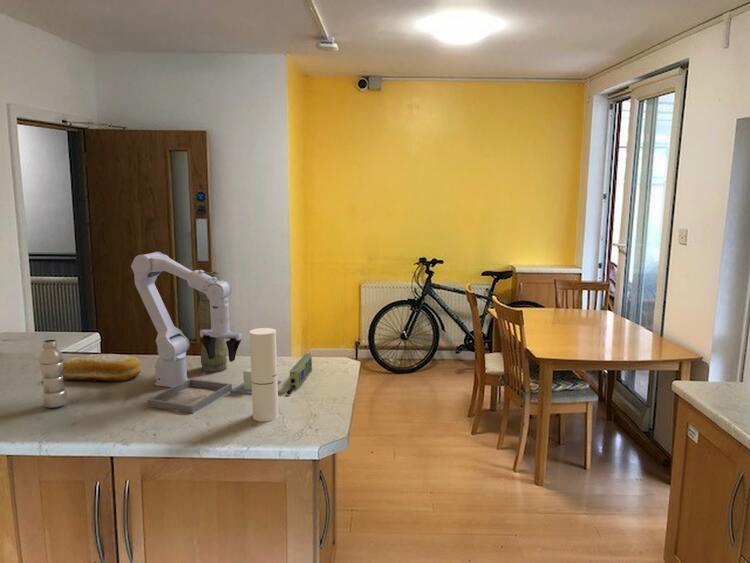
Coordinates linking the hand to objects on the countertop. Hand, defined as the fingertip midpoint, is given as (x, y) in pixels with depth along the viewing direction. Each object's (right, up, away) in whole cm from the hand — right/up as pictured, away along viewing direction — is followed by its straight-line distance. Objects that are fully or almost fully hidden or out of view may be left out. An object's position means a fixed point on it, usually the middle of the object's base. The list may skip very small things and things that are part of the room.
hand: (221, 359), depth 182 cm
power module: (+11, -9, +2) cm, 14 cm away
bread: (-44, -8, +12) cm, 47 cm away
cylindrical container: (+18, -13, -21) cm, 31 cm away
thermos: (-8, -6, +20) cm, 23 cm away
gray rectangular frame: (-7, -11, -7) cm, 15 cm away
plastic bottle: (-46, -12, -14) cm, 49 cm away
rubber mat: (+11, -9, +2) cm, 14 cm away
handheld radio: (+24, -9, +6) cm, 27 cm away
